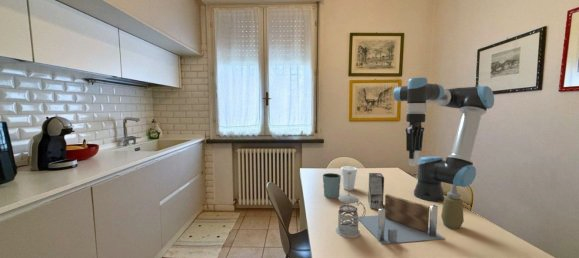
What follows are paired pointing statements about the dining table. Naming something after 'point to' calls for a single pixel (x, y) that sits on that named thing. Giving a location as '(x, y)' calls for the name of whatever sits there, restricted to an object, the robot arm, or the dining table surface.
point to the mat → (403, 231)
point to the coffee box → (376, 190)
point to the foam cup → (348, 177)
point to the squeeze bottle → (452, 209)
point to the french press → (348, 216)
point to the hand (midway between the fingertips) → (413, 165)
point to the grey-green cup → (331, 185)
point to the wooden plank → (407, 212)
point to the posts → (393, 231)
